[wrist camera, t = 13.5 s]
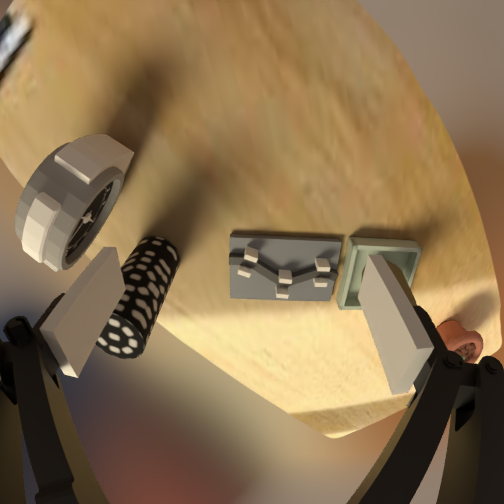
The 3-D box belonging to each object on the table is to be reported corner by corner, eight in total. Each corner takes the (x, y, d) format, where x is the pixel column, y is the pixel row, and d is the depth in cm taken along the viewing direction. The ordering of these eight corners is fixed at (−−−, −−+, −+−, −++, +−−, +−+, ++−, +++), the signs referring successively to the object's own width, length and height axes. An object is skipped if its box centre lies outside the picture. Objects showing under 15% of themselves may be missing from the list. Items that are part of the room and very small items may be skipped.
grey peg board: (230, 234, 49) (227, 245, 46) (340, 238, 49) (346, 250, 45) (230, 294, 55) (228, 308, 51) (329, 297, 55) (333, 311, 51)
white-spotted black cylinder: (183, 243, 50) (146, 324, 33) (175, 282, 54) (143, 366, 37) (138, 230, 49) (83, 302, 32) (133, 270, 53) (88, 346, 36)
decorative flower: (478, 306, 56) (538, 400, 29) (458, 347, 62) (503, 438, 36) (430, 312, 56) (488, 424, 30) (412, 355, 63) (452, 459, 37)
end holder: (349, 236, 49) (353, 244, 46) (415, 240, 48) (422, 248, 46) (336, 299, 55) (339, 309, 52) (397, 299, 55) (402, 308, 52)
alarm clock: (105, 234, 50) (45, 303, 32) (70, 210, 48) (1, 267, 30) (150, 149, 43) (81, 189, 25) (108, 122, 40) (24, 148, 23)
